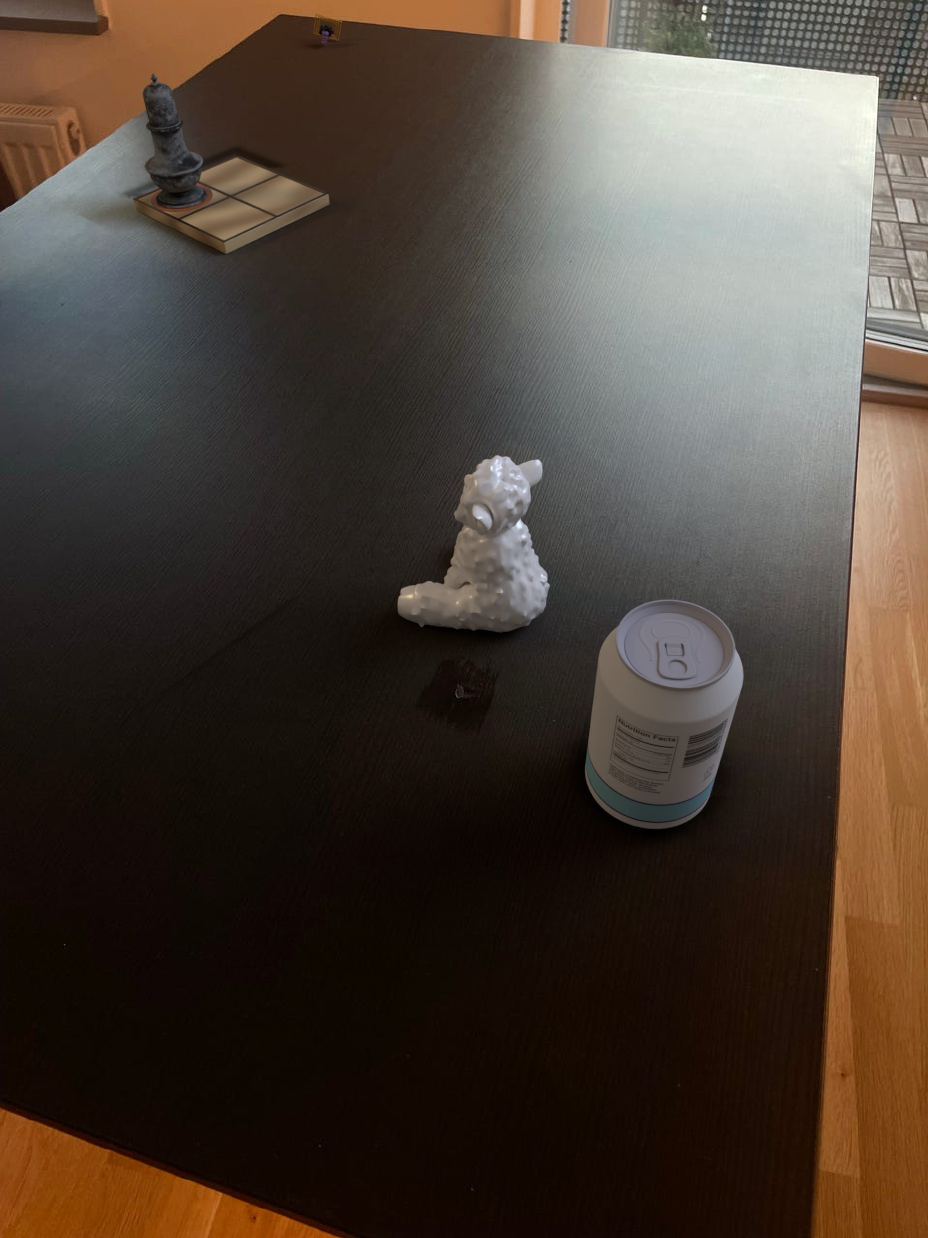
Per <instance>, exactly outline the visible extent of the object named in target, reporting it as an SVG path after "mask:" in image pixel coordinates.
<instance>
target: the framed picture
mask: <svg viewBox="0 0 928 1238" xmlns="http://www.w3.org/2000/svg"><path fill="white" fill-rule="evenodd" d="M314 16H315V17H314V25H313V30H312V31H313V32H312V33H313V34H314V35H317V36H320V37H321V39H320V43H321V45H324V46H326V45H327V44H328V42H329V41H328V40H329V39H331V40H334V41H337V42H339V41H340V35H341V28H342V23H343V21H342V20H339V19H336V18H332V17H329V16H325V15H322V14H318V13H315V15H314ZM321 21H325V22H329V23H332V24H335V27H337V28H335V31H334V30H333V26H330V25H329V24H325V25H323V24H320V23H321ZM335 34H336V35H335Z"/></svg>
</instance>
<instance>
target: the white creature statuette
mask: <svg viewBox="0 0 928 1238" xmlns="http://www.w3.org/2000/svg"><path fill="white" fill-rule="evenodd" d="M542 477H543V463H542V461H541V460H540V459H530V460H527V461H525V462H523V463H520V464H518V465H516V463H515V462H514V461H512V459H511V457H510V456H500V455H499V454H497V455H494V456H493V457H492V458H491V459H489V458H486V459H483V460H482V461H481V462H480V463H478V464H477V465H476V466H475V471H474V472H472V473H471V474H466V475H464V478H463V481H464V482H463V483H464V485H463V489H462V494H461V495H460V498H459V504H458V506H457V509H456V510H455V511H454V513H453V515H454V519H455V520H456V522H459V523H461V524H463V526H462V527H461V530H460V531H459V532H458V534H457V537H456V540H455V545H454V548H453V550H454V551H453V556H452V558H451V559H450V565H451V566H450V567H449V568H448V569H447V571H446V575H444V577H443V582H444V583H439V582H433V581H431V580H428V581H424V582H423V583H417V584H414V585H407V586H404V587H402V588H401V589H400V592H399V593H400V595H398V599H397V614H398V616H400V617H401V618H403V619H404V620H407V621H410V622H413V623H416V624H418V625H419V627H420V628H423V627H424V626H425V625H429V626H434V627H441V628H442V627H444V628H451V629H452V628H453V629H455V630H460V629H462V630H463V629H465V630H471V631H474V632H475V631H477V630H481V631H482V630H483V631H489V632H490V631H491V632H495V633H503V632H504V633H506V632H511V631H514V630H516V629H520V628H523V627H527V626H529V625H530V624H531V622H532V621H533V619H536V618H538V617H539V616H540V614H543V613H544V610H545V608H546V607H547V597H548V595H549V594H548V593H549V589H550V587H551V584H550V583H549V582H548V572H546V570H545V569H544V568H543V567H542V566H541V564H540V562H539V555H537V554H536V553H535V550H534V548H532V546H533V540H532V539H531V538H532V535H531V533H530V532H529V528H528V525H527V524H525V523H524V522H523V521H522V518H523V517H524V516H525V515H526V513H527V512H528V509H529V507H530V504H531V502H532V496H531V495H532V494H531V488H532V487H534V486H535V485H537V484H538V483H540V481H541V480H542Z"/></svg>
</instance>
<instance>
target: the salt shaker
mask: <svg viewBox="0 0 928 1238" xmlns="http://www.w3.org/2000/svg"><path fill="white" fill-rule="evenodd" d="M149 79H150V80H151V81H152V82H150V83H149V84H147V85H146V86H145V87H144V88H143V91H142V99H143V102H144V103H143V104H144V107H145V111H146V115H147V119H148V122H147V123H146V124H145V127H146V129H147V131H150V135H151V139H152V143H153V149H154V152H153V153H154V155H153V156H151V157H150V158H149V159H147V160H146V162H145V163H144V170H145V171H146V172H147V174H149V177H150V179H151V180H152V182H153V183H154V185H155V186H156V188H157V187H158V188H160V189H162V191H161V192H160V193H159V194H158V195H157V197H156V202H157V204H158V205H159V206H161V207H164V208H168V209H183V208H189V207H192V206H195V205H198V204H200V203H201V202H203V201H204V200H205V199H206V198H207V193H206V191H205V190H204V189H203V188H201V187H199V186H196V185H197V183H198V182H199V180H200V177H201V171H202V170H203V169H202V166H203V163H204V160H203V157H202V156H201V155H200V154H199V153H196V152H193V151H189V149H188V147H187V146H186V143H185V139H184V134H183V128H182V127H183V125H184V121H183V119H182V118H179V115H178V111H177V106H176V100H175V97H174V92H173V90H172V88H171V87H170V86H169V85H168V84H166V83H163V82H160V81H158V79H159V78H158V76H157V75H156V74H155V73H152V75H151V77H150V78H149Z"/></svg>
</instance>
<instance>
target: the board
mask: <svg viewBox="0 0 928 1238" xmlns="http://www.w3.org/2000/svg"><path fill="white" fill-rule="evenodd" d="M196 186H199V187H201V188H203V189H204V190H205V191H206V193H207V198H206V199H205V200H204V201H203V202H201V203H200V204H198V205H195V206H192V207H189V208H183V209H168V208H164V207H161V206H159V205H158V204H157V202H156V197H157V195H158V194H159V193H160V192H161V191H162V189H160V188H159V187H158V188H155V189H153V190H150V191H148V192H146V193H143V194H141V195H139V196H136V197H133V198H132V200H133V203H134V207H135V210H136V212H139V213H141V212H142V213H141V214H142V215H145V216H147V217H149V218H150V219H153V220H155V221H157V222H158V223H161V224H163V225H165V226H167V227H169V228H171V229H174V230H175V231H178V232H180V233H181V234H184V235H186V236H188V237H189V238H192V239H194V240H196V241H199V242H200V243H203V244H204V245H206V246H209V247H211V248H212V249H214V250H217V251H219V252H221V253H223V254H225V255H227V254H230V253H232V252H234V251H236V250H238V249H240V248H242V247H244V246H246V245H249V244H250V243H253V242H255V241H257V240H259V239H261V238H263V237H265V236H267V235H269V234H272V233H274V232H276V231H277V230H280V229H282V228H284V227H287V226H289V225H290V224H292V223H294V222H297V221H300V220H301V219H303V218H306V217H307V216H309V215H311V214H313V213H315V212H318V211H319V210H321V209H323V208H326V207H328V206H330V205H331V204H330V196H329V192H327V191H325V190H323V189H320V188H317V187H315V186H313V185H311V184H308V183H305V182H303V181H300V180H298V179H295V178H293V177H291V176H288V175H286V174H284V173H281V172H279V171H276V170H274V169H272V168H269V167H267V166H264V165H262V164H259V163H257V162H254V161H252V160H250V159H247V158H244V157H242V156H239V155H234V156H232V157H229V158H227V159H225V160H222V161H220V162H218V163H215V164H213V165H211V166H208V167H206V168H203V169H202V171H201V177H200V180H199V182H198V183H197V185H196Z"/></svg>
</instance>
